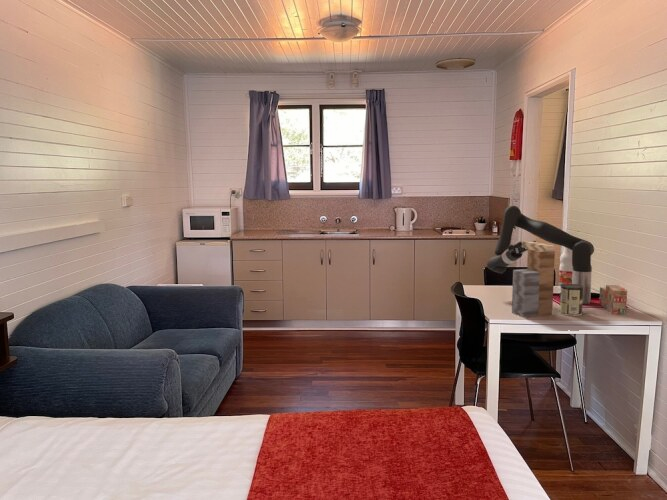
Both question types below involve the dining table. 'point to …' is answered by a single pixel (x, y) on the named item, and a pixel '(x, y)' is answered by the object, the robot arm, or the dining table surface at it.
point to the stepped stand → (534, 285)
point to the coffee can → (571, 299)
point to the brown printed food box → (613, 299)
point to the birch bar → (538, 246)
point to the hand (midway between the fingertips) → (528, 242)
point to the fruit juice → (565, 268)
